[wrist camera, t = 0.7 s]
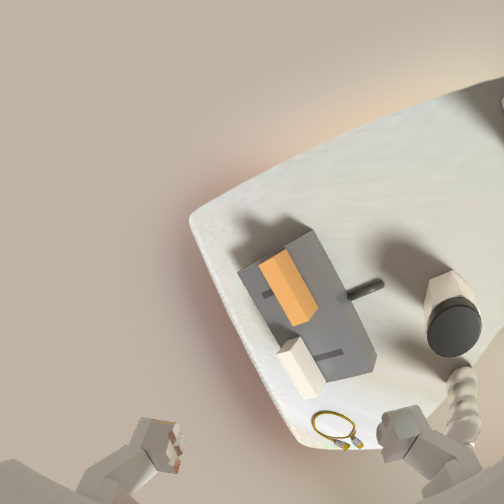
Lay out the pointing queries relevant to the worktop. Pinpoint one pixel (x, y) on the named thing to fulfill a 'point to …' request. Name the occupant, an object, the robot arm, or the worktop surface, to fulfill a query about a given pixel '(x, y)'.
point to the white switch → (301, 368)
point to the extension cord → (340, 443)
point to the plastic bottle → (463, 407)
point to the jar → (451, 315)
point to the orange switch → (289, 287)
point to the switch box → (317, 311)
